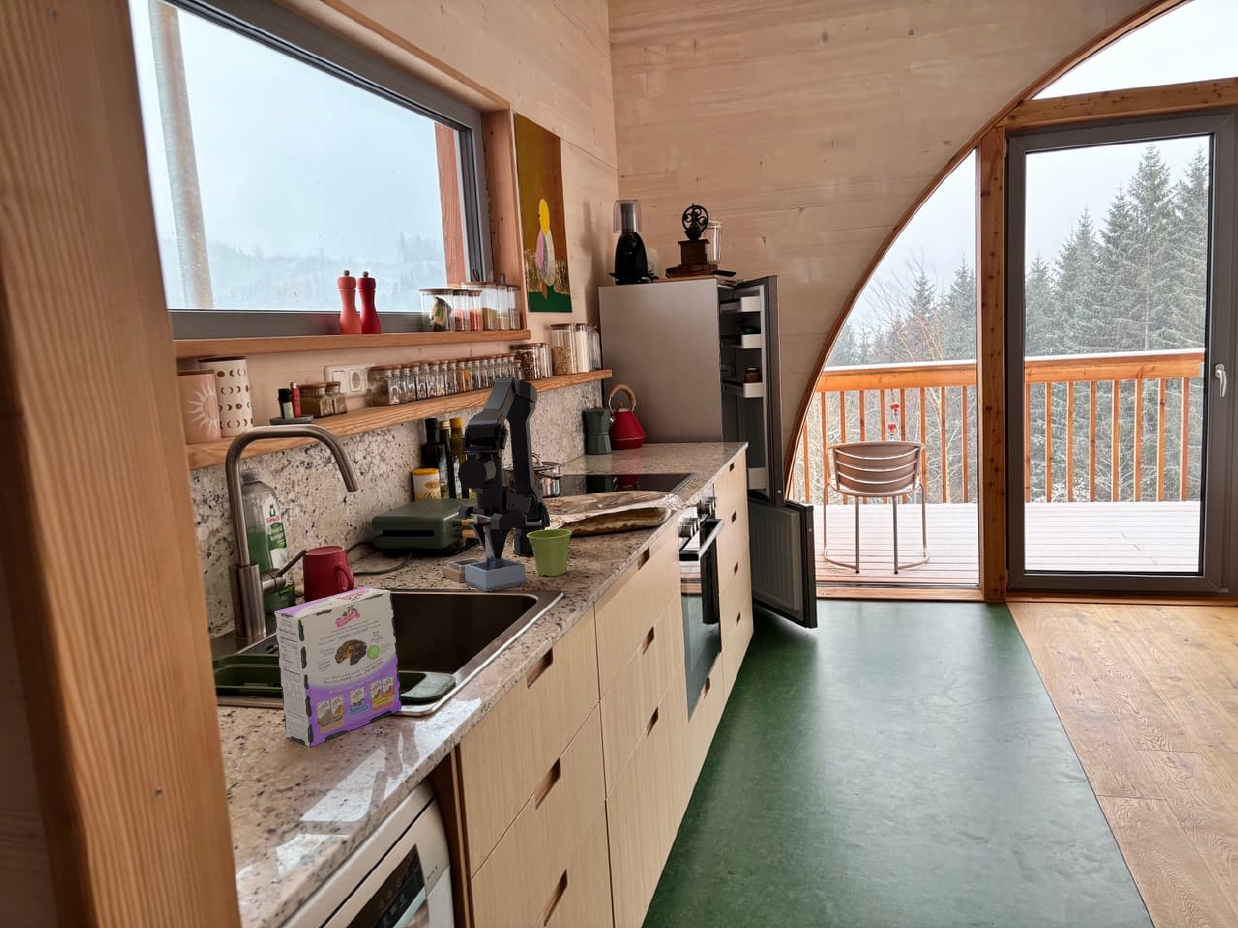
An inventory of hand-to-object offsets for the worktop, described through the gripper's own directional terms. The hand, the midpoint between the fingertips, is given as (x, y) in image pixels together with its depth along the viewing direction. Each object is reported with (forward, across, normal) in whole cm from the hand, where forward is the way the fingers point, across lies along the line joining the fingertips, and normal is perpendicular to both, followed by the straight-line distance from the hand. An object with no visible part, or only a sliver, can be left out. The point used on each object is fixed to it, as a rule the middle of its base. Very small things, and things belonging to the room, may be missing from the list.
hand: (494, 557), depth 187 cm
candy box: (+6, -50, +49) cm, 71 cm away
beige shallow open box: (+6, +10, +1) cm, 12 cm away
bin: (+6, 0, 0) cm, 6 cm away
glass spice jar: (+2, 0, 0) cm, 2 cm away
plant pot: (+6, -1, -13) cm, 14 cm away
